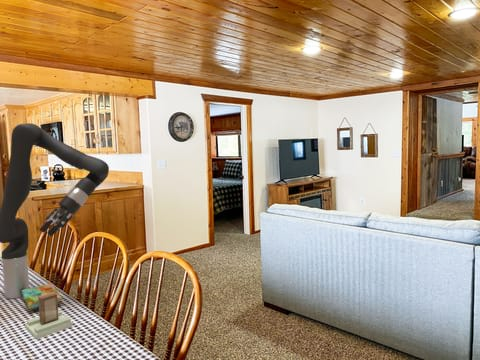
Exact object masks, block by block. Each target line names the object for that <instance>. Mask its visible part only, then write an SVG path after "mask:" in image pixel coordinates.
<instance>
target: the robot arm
mask: <svg viewBox="0 0 480 360" xmlns="http://www.w3.org/2000/svg"><path fill="white" fill-rule="evenodd" d="M34 146H36V147H38V148H41V149H44V150H46V151H48V152H50V153H52V154H53V155H54V156H55V157H57V159H60V161H62V162H64V163H65V164H68V165H69V166H70V167H73V168H76V169H78V170H82V171H83V170H85V171H87V172H89V173H87V174H86V176H85V177H82V178H80V180H78V182H76V184H75V185H74V186H73V187H72V188H71V189H70V190H69V191H68V192H67V193H66V194H65V195H64V196H63V198H61V200H60V201H59V202H58V207H59V208H54V209H53V210H52V211H51V212H50V213H49V214H48V215H47V217H46V218H45V219H44V220H45V223H43V224H42V225H41V227H40V228H39V231H40V232H42V233H45V232H46V234H48V235H49V236H50V237H53V236H54V235H55V234H56V233H57V232H58V230H59V229H63V228H65V226H66V225H67V224H68V223H69V221H70V220H71V219H72V218H73V216H74V215H76V214H77V212H78V211H79V210H80V209H81V207H82V206H83V205H84V204H85V203H86V201H87V200H88V198H89V197H90V196H91V195H92V194H93V192H95V190H96V189H97V188H98V187H99V186H100V185H101V184H102V183H103V182H104V181H105V180H106V179H107V178H108V176H109V171H110V167H109V165H108V163H107V162H106V161H104V160H102V159H100V158H98V157H94V156H91V155H88V154H86V153H84V152H82V151H80V150H79V149H76V148H74V147H72V146H70V145H69V144H66V143H64V142H63V141H61V140H59V139H58V138H56V137H55V136H52V134H50V133H48V132H47V131H45V130H44V129H43V128H41V127H40V126H39V125H37V124H35V123H31V122H30V123H29V122H28V123H20V124H17V125H16V126H14V128H13V129H12V131H11V140H10V157H9V161H8V162H9V163H8V167H7V174H6V177H5V178H6V179H5V183H4V190H3V192H4V193H3V197H2V201H1V207H0V243H2V244H8V245H7V246H6V247H5V248H4V249H3V250H2V251H1V264H2V275H3V276H2V277H3V289H4V297H5V299H18V298H22V297H23V295H22V290H24V289H28V288H30V278H29V266H28V265H29V262H28V249H29V228H28V224H27V221H25V220H24V219H22V218H19V217H17V215H18V212H19V210H20V209H21V207H22V206H23V204H24V203H25V201H26V200H27V198H28V197H29V195H30V192H31V188H32V183H33V171H32V167H31V154H32V150H33V147H34ZM49 228H50V229H49ZM47 230H48V231H47Z"/></svg>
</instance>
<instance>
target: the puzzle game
mask: <svg viewBox="0 0 480 360" xmlns="http://www.w3.org/2000/svg"><path fill="white" fill-rule="evenodd" d="M52 292H54V293H55V294H57V302H58V303H59V302H61V301H63V297H62V296H61V295H60V293H59V292H58V290H57V289H56V287H55V285H54V283H52V282H51V283H47V284H43V285H38V286H32V287H29V288H28V289H24V290H22V295H23V296H22V297H23V300H24V301H25V304H26V307H27V309H28V310H30V311H33V310H39V302H38V296H42V295H45V294H48V293H52Z"/></svg>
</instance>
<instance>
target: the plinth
mask: <svg viewBox="0 0 480 360" xmlns="http://www.w3.org/2000/svg"><path fill="white" fill-rule="evenodd" d="M58 318H59V320H57V321H54V322H51V323H48V324H45V325H41V324H40V317H39V316H36V317H34V318H29V319H27V320H26V323H25V324H24V327H25V329H26V331H28V333H30V335H31V336H32V337H33V338H34V339H35V340H38V339H40V338H42V337H46V336H49V335H51V334H53V333H57V332H60V331H62V330H66V329H68V328H71V327H73V326H74V324H73V321H72V319H71V318H70V317H69V316H66V315H64V314H63V312H62V311H61V310H60V309H58Z"/></svg>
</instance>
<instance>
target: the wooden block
mask: <svg viewBox="0 0 480 360" xmlns="http://www.w3.org/2000/svg"><path fill="white" fill-rule="evenodd" d="M38 302H39V308H38V312H39V313H38V314H39V315H38V317H40V324H41V325H45V324H48V323H51V322H54V321H57V320H59V318H58V310H59V306H58V305H59V304H58V303H59V302H57V294H55V293H54V292H52V293H48V294H45V295H42V296H38Z"/></svg>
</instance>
